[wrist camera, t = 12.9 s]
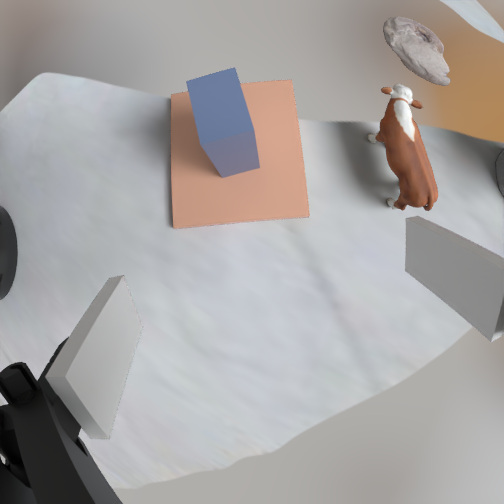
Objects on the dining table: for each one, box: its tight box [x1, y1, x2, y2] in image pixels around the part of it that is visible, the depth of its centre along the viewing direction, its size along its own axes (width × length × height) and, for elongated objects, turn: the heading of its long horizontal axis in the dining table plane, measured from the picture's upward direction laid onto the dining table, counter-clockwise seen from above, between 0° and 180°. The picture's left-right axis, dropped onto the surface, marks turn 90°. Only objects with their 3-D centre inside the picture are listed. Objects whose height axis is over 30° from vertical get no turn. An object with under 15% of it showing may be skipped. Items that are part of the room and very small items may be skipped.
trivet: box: [171, 80, 310, 229], centre depth 31 cm, size 14×16×1 cm
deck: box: [186, 68, 260, 178], centre depth 26 cm, size 6×4×10 cm
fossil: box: [383, 17, 451, 86], centre depth 29 cm, size 12×4×10 cm
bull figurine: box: [367, 84, 438, 211], centre depth 27 cm, size 4×13×8 cm, turn 9°
